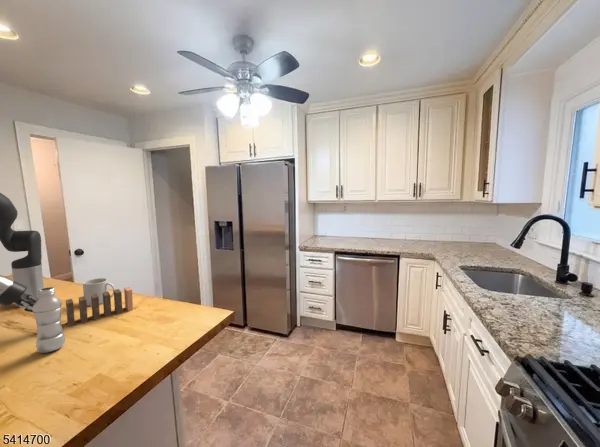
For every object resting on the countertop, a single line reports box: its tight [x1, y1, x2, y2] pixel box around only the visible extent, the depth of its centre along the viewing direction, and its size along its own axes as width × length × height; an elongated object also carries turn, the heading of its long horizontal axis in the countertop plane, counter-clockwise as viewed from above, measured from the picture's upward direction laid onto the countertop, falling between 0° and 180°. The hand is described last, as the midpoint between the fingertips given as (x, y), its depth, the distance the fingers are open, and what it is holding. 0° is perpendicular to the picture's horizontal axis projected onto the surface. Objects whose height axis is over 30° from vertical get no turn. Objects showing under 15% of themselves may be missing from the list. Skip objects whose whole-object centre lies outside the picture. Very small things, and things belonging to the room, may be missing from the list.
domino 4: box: [102, 290, 112, 318], centre depth 106 cm, size 2×5×9 cm, turn 46°
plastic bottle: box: [32, 286, 66, 354], centre depth 80 cm, size 6×7×20 cm
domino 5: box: [113, 288, 123, 315], centre depth 108 cm, size 2×5×9 cm, turn 46°
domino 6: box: [123, 286, 134, 312], centre depth 111 cm, size 2×5×9 cm, turn 46°
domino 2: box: [78, 295, 89, 324], centre depth 100 cm, size 2×5×9 cm, turn 46°
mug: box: [82, 277, 117, 307], centre depth 118 cm, size 11×10×10 cm
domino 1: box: [65, 298, 76, 328], centre depth 97 cm, size 2×5×9 cm, turn 46°
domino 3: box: [91, 294, 101, 321], centre depth 103 cm, size 2×5×9 cm, turn 46°
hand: (55, 313), depth 94 cm, fingers closed
